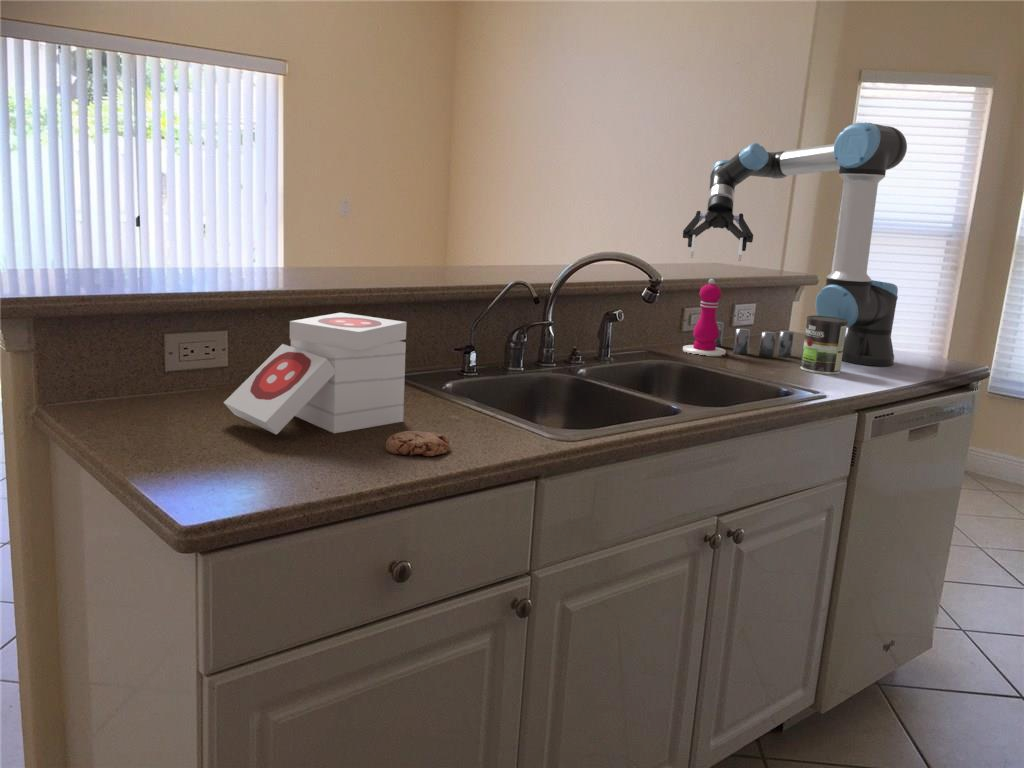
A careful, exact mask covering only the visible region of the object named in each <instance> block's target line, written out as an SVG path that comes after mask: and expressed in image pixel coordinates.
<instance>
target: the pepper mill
mask: <svg viewBox="0 0 1024 768" xmlns="http://www.w3.org/2000/svg"><path fill="white" fill-rule="evenodd" d="M707 282H708V284H704V285H703V286H702V287H700V290H699V297H700V298H701V299H700V300H701V301H700V304H699V305H700V307H701V308H700V309H701V311H700V316H699V318H698V320H697V322H696V324H695V325H694V328H693V331H692V335H693V337H694V338H695V340H694V341H693V345H694V346H693V348H695V349H698V350H705V351H713V350H715V349H716V343H714V342H715V340H716V339H717V338H718V337H719V329H718V326H717V323H716V322H717V319H716V313H717V308H718V307H719V302H718V301H719V300H720V299H721V297H722V290H721V288H720V286H718V285H717V284H715V283H716V281H715V279H714V278H710V279H708V281H707Z"/></svg>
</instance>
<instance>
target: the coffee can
mask: <svg viewBox="0 0 1024 768" xmlns="http://www.w3.org/2000/svg"><path fill="white" fill-rule="evenodd" d="M847 324H848V321H847V320H845V319H841V318H836V317H829V316H818V315H808V316H806V327H805V334H804V340H803V348H802V355H801V362H800V367H799V368H800V369H801V370H802V371H804V372H807V373H812V374H819V375H827V376H828V375H829V376H832V375H835V376H836V375H839V374H840V373H841V365H842V361H843V360H842V354H843V347H844V341H845V336H846V334H847V329H848V328H847Z"/></svg>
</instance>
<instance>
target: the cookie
mask: <svg viewBox="0 0 1024 768" xmlns="http://www.w3.org/2000/svg"><path fill="white" fill-rule="evenodd" d="M449 444H450V438H449V437H448V436H446V435H444V434H442V433H437V432H435V431H434V432H433V431H429V432H428V431H427V432H426V431H422V430H405V431H399V432H397V433H393V434H392V435H390V436H389V437H388V438H387V439H386V442H385V450H387V452H389V453H391V454H393V455H404V456H413V455H421V454H422V456H425V457H434V456H438V455H441V454H442V455H443V454H447V453H448V452H450V451H451V447H450V445H449ZM447 451H448V452H447Z"/></svg>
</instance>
